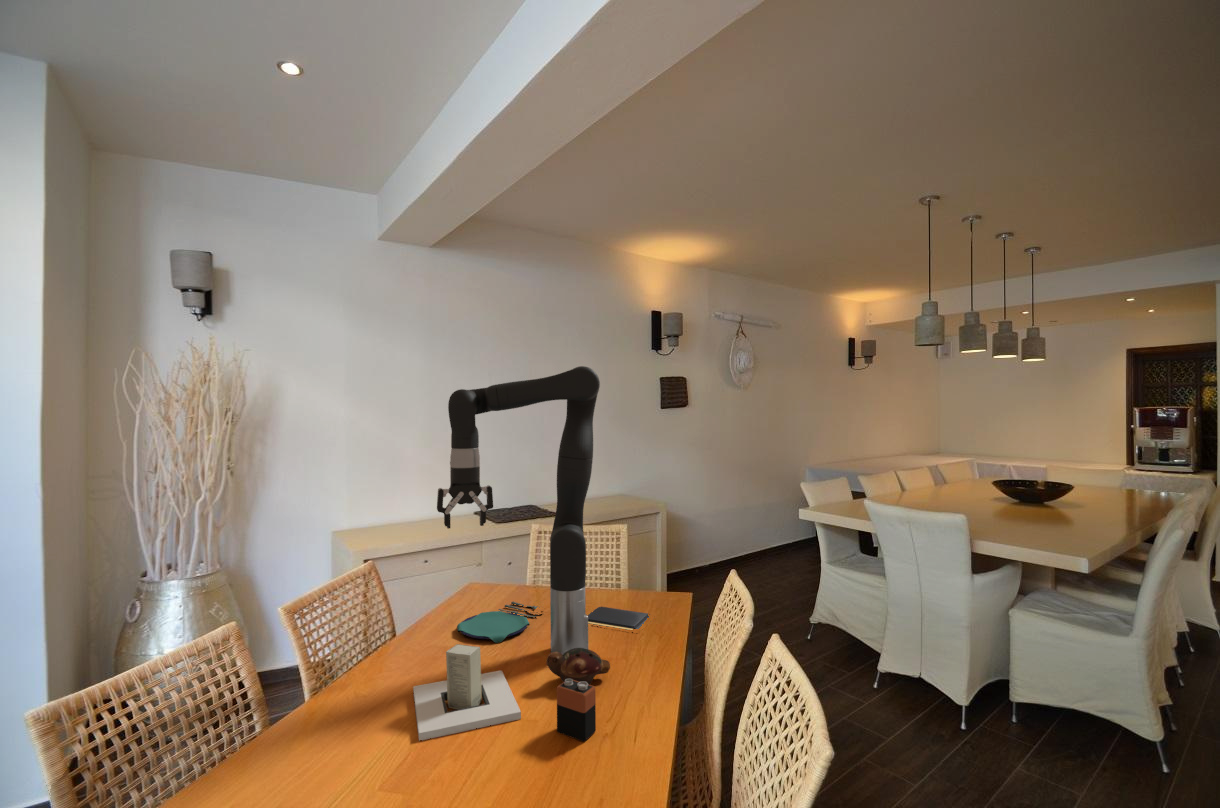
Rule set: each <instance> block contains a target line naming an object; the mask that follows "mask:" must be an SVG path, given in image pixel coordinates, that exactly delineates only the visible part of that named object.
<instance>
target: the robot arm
mask: <svg viewBox="0 0 1220 808" xmlns="http://www.w3.org/2000/svg"><path fill="white" fill-rule="evenodd" d="M600 387H601V383H600V378H599V376H598V374H597V372H596V371H595V370H594V369H593V368H590V367H588V366H583V365H582V366H576V367H574V368H571V369H569V370H566V371H563V372H561V373H558V374H553V375H549V376H546V377H540V378H535V379H526V380H525V379H524V380H517V381H510V382H503V383H498V384H492V385H489V386H488V387H482V388H476V389H475V388H474V389H463V388H461V389H457V390H455V391H454V392H452V393H451V395H450V397H449V399H448V403H447V405H448V406H447V408H448V409H447V410H448V417H449V423H450V430H451V434H450V435H451V436H450V439H451V440H450V444H451V445H450V446H451V448H450V449H451V450H450V459H449V465H450V467H449V468H450V469H449V470H450V471H449V472H450V475H449V476H450V479H449V481H450V485H449V488H442V487H439V488H438V489H437V500H436V511H437V512H438V513H442V514H443V516H444V517H443V524H444V527H446V528H447V529H448V530H449V529H451V512H452V511H453V509H454V508H455V507H456V505H457V504H458V505H464V504H468V505H470V504H471V505H472V504H473V503H475V504H476V505H477V507H478V508H479V509H480V510H479V526H481V527H483V526H484V524H487V523H486V522H487V511H488V510H491V509H493V508H494V497H493V495H494V494H493V487H492V486H491V485H489V484H488V485H486V486H482V485H481V484H480V483H481V481H480V480H481V478H480V477H481V476H480V475H481V474H480V473H481V471H480V470H481V469H480V467H481V466H480V465H481V463H480V459H481V458H480V448H479V447H480V446H479V443H480V441H479V437H480V436H479V429H478V427H477V426H476V415H480V414H485V413H490V412H499V411H507V410H512V409H513V410H514V409H518V408H523V407H527V406H531V405H534V404H535V405H536V404H540V403H544V402H550V401H551V402H552V401H560V400H561V401H565V400H566V416H565V418H566V419H565V423H564V427H563V431H562V434H561V438H560V444H559V448H558V449H559V450H558V456H557V466H556V467H557V468H556V509H555V515H554V522H553V524H552V529H551V534H550V538H549V557H550V558H549V565H550V566H549V571H550V573H549V575H550V577H549V579H550V580H549V581H550V582H549V583H550V584H549V586H550V589H549V590H550V592H549V594H550V596H549V597H550V606H549V607H550V654H551V653H552V652H560V653H561V654H562V655H563V654H564V653H565V652H567V651H568V650H570V649H574V648H585V649H589V626H588V616H587V615H588V614H586V576H587V544H586V538H585V535H584V506H585V502H586V498H587V494H588V490H589V485H590V482H591V477H592V470H593V462H594V461H593V460H594V422H593V421H594V414H595V413H594V412H595V407H596V403H597V400H598V399H597V398H598V393H599V391H600ZM482 492H483V494H485V495H486V504H484V503H483V502H482V501H481V500H480V499H479V496H480V495H481V493H482ZM448 494H449V495H450V496H451V499H450V500H449V502H448V504H447V505H446V507H443V506H444V498H446V497H447V495H448Z"/></svg>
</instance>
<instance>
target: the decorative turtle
mask: <svg viewBox="0 0 1220 808" xmlns="http://www.w3.org/2000/svg"><path fill="white" fill-rule="evenodd" d="M546 666H547V668H548V670H550V671H551V672H552V673H553V674H554V675H555V676H557V677H559V679H561V682H562V683H563V682H565V679H572V680H575V681H578V682H587V683H588V685H591V684H592V682H593V680H594V678H595V677H596V676H597V675H604V674H607V673H609V672H610V669H611V663H610V661H609V660H607V659H603V658H602V657H601V656H600V655H599V654H598V653H597V652H595V651H593V650H591V649H589V648H588V649H585V648H574V649H570V650H568V651H567V652H565V653H564V654H563V655H562V654H561V653H560V652H552V653H551V652H550V653H549V654H548V655H547V658H546Z"/></svg>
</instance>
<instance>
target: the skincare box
mask: <svg viewBox="0 0 1220 808" xmlns="http://www.w3.org/2000/svg"><path fill="white" fill-rule="evenodd" d="M445 657H446V659H445V660H446V680H447V697H448V700H447V709H448V708H449V709H453V710H457V709H462V708H467V707H472V706H477V705H481V703H482V702H483V699H482V690H481V674H482V664H481V660H482V659H481V647H480V646H475V645H474V646H473V645H469V644H467V645H466V644H458V643H457V644H455V645H454V646H453V647H450V648H449V649H448V650H447V651H445Z"/></svg>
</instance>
